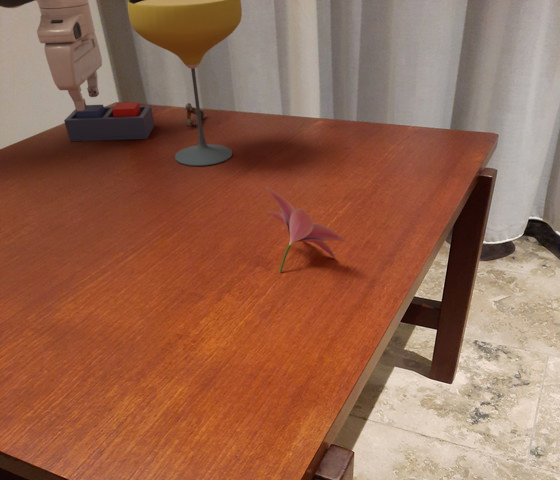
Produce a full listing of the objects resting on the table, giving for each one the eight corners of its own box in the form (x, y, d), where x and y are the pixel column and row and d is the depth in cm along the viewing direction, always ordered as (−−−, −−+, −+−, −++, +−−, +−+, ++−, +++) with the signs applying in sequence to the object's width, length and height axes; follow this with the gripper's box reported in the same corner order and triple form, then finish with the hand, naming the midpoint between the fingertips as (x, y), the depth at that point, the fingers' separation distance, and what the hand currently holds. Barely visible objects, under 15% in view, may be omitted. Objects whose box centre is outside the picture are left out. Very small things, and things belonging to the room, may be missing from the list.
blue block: (81, 134, 114) (75, 111, 111) (87, 127, 118) (81, 105, 115) (102, 134, 114) (97, 110, 111) (108, 127, 118) (103, 104, 115)
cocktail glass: (233, 177, 96) (217, 6, 79) (139, 170, 100) (105, 6, 83) (263, 142, 109) (254, -12, 92) (178, 137, 113) (155, -11, 96)
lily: (347, 291, 69) (370, 214, 67) (261, 272, 65) (281, 188, 62) (310, 274, 80) (328, 206, 77) (234, 256, 75) (250, 184, 72)
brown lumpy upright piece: (182, 125, 115) (182, 102, 114) (196, 130, 123) (196, 108, 121) (190, 126, 115) (190, 102, 114) (204, 130, 122) (204, 108, 121)
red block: (117, 132, 114) (112, 109, 111) (122, 125, 117) (117, 102, 114) (138, 131, 114) (134, 108, 111) (143, 124, 117) (138, 102, 114)
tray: (146, 138, 113) (142, 117, 110) (69, 141, 113) (63, 120, 111) (154, 125, 119) (151, 105, 117) (81, 128, 120) (76, 107, 117)
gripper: (68, 14, 111) (87, 89, 120) (33, 34, 96) (57, 118, 105) (99, 13, 111) (115, 88, 120) (68, 32, 96) (89, 117, 105)
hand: (88, 102), depth 112 cm, fingers open, 8 cm apart
